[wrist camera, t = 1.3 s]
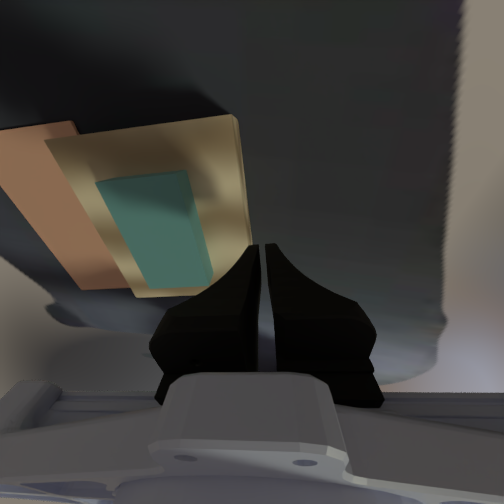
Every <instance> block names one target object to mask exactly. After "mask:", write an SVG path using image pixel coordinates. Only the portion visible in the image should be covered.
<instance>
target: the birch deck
mask: <svg viewBox="0 0 504 504" xmlns="http://www.w3.org/2000/svg"><path fill="white" fill-rule="evenodd" d="M44 142H45V143H46V145H47V147H48V148H49V150H50V152H51V153H52V155H53V157H54V159H55V160H56V162H57V164H58V165H59V167H60V169H61V170H62V172H63V174H64V176H65V177H66V179H67V181H68V182H69V184H70V186H71V187H72V189H73V191H74V193H75V194H76V196H77V198H78V199H79V201H80V203H81V204H82V206H83V208H84V210H85V211H86V213H87V215H88V216H89V218H90V220H91V221H92V223H93V225H94V227H95V228H96V230H97V232H98V233H99V235H100V237H101V238H102V240H103V242H104V244H105V245H106V247H107V249H108V250H109V252H110V254H111V255H112V257H113V259H114V261H115V262H116V264H117V266H118V267H119V269H120V271H121V272H122V274H123V276H124V278H125V279H126V281H127V283H128V284H129V286H130V288H131V289H132V291H133V293H134V295H135V296H136V298H146V297H168V296H189V295H197V294H199V293H201V292H202V291H204V290H205V289H207V288H208V287H210V286H211V285H212V284H214V283H215V282H216V281H218V280H219V279H220V278H221V277H222V276H224V275H225V274H226V273H227V272H228V271H229V270H230V268H231V267H232V266H233V265H234V264H235V263H236V262H237V260H238V259H239V258H240V257H241V255H242V254H243V252H244V251H245V249H246V248H247V247H248V245H252V236H251V228H250V219H249V210H248V202H247V193H246V185H245V176H244V168H243V159H242V151H241V142H240V134H239V125H238V120H237V119H236V118H235V117H234V116H233V115H232V114H229V115H221V116H214V117H207V118H200V119H192V120H185V121H178V122H170V123H163V124H156V125H148V126H141V127H134V128H127V129H119V130H112V131H105V132H97V133H90V134H83V135H75V136H68V137H61V138H54V139H46V140H44ZM178 170H187V174H188V178H189V182H190V185H191V189H192V193H193V197H194V201H195V204H196V208H197V212H198V216H199V219H200V223H201V227H202V231H203V234H204V238H205V242H206V246H207V250H208V253H209V257H210V261H211V265H212V268H213V272H214V274H213V276H212V279H211V282H210V285H209V286H199V287H179V288H159V289H149V287H148V285H147V283H146V281H145V279H144V277H143V275H142V273H141V271H140V269H139V267H138V265H137V263H136V262H135V260H134V258H133V256H132V254H131V252H130V250H129V248H128V246H127V244H126V242H125V240H124V238H123V237H122V235H121V233H120V231H119V229H118V227H117V225H116V223H115V221H114V219H113V217H112V215H111V213H110V211H109V210H108V208H107V206H106V204H105V202H104V200H103V198H102V196H101V194H100V192H99V190H98V188H97V186H96V185H95V182H99V181H103V180H106V179H110V178H115V177H124V176H133V175H142V174H151V173H160V172H169V171H178Z"/></svg>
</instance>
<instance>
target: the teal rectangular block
mask: <svg viewBox="0 0 504 504" xmlns="http://www.w3.org/2000/svg"><path fill="white" fill-rule="evenodd" d="M95 185H96V186H97V188H98V190H99V192H100V194H101V196H102V198H103V200H104V202H105V204H106V206H107V208H108V210H109V211H110V213H111V215H112V217H113V219H114V221H115V223H116V225H117V227H118V229H119V231H120V233H121V235H122V237H123V238H124V240H125V242H126V244H127V246H128V248H129V250H130V252H131V254H132V256H133V258H134V260H135V262H136V263H137V265H138V267H139V269H140V271H141V273H142V275H143V277H144V279H145V281H146V283H147V285H148V287H149V289H159V288H179V287H199V286H209V285H210V282H211V279H212V276H213V274H214V272H213V268H212V265H211V261H210V257H209V253H208V250H207V246H206V242H205V238H204V234H203V231H202V227H201V223H200V219H199V216H198V212H197V208H196V204H195V201H194V197H193V193H192V189H191V185H190V182H189V178H188V174H187V170H178V171H169V172H160V173H151V174H142V175H133V176H124V177H115V178H110V179H106V180H103V181H99V182H95Z"/></svg>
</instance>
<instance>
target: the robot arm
mask: <svg viewBox="0 0 504 504" xmlns="http://www.w3.org/2000/svg"><path fill="white" fill-rule="evenodd" d="M265 251H266V264H267V277H268V287H269V293H270V299H271V305H272V311H273V318H274V331H275V346H276V360H277V372H258V314H259V304H260V294H261V265H260V254H259V244H258V245H248V247H247V248H246V249H245V251H244V252H243V254H242V255H241V257H240V258H239V259H238V260H237V262H236V263H235V264H234V265H233V266H232V267H231V268H230V270H229V271H228V272H227V273H226V274H225V275H224V276H222V277H221V278H220V279H219V280H218V281H216V282H215V283H214V284H212V285H211V286H210V287H208V288H207V289H205V290H204V291H202V292H201V293H199V294H197V295H196V296H194V297H192V298H190V299H189V300H187V301H185V302H183V303H181V304H179V305H177V306H175V307H173V308H170V309H168V310H167V312H166V313H165V315H164V317H163V318H162V320H161V322H160V324H159V325H158V327H157V329H156V331H155V333H154V335H153V337H152V338H151V341H150V342H149V350H150V352H151V354H152V356H153V358H154V359H155V361H156V362H157V364H158V365H159V367H160V368H161V370H162V371H163V373H164V375H163V378H162V380H161V382H160V385H159V387H158V389H157V391H62V389H61V388H60V387H59V386H58V385H56V384H55V383H53V382H49V381H44V380H26V381H25V380H23V381H19V382H17V383H16V384H15V385H14V386H13V387H12V388H11V389H10V391H8V392H7V393H6V394H5V395H4V396H3V397H2V398H1V400H0V497H4V498H17V499H29V500H41V501H51V502H61V503H71V504H504V393H416V392H415V393H414V392H408V393H406V392H399V393H398V392H381V390H380V388H379V386H378V384H377V381H376V379H375V377H374V375H373V373H374V367H373V365H372V363H371V361H370V359H369V356H370V354H371V351H372V349H373V346H374V344H375V341H376V336H377V334H376V331H375V328H374V326H373V324H372V323H371V321H370V319H369V318H368V316H367V315H366V314H365V312H364V311H363V310H362V308H361V307H360V306H359V304H358V303H357V302H355V301H353V300H350V299H348V298H346V297H343V296H341V295H338V294H336V293H334V292H332V291H330V290H328V289H326V288H324V287H322V286H320V285H319V284H317V283H315V282H314V281H312V280H311V279H309V278H308V277H306V276H305V275H304V274H302V273H301V272H300V271H299V270H298V269H297V268H295V267H294V266H293V265H292V264H291V263H290V261H289V260H288V259H287V258H286V257H285V256H284V254H283V253H282V252H281V250H280V249H279V247H278V246H277V244H276V243H272V244H265Z"/></svg>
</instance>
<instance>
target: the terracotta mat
mask: <svg viewBox="0 0 504 504" xmlns="http://www.w3.org/2000/svg"><path fill="white" fill-rule="evenodd" d="M75 135H80V134H79V132H78V130H77V128H76V126H75V124H74V122H73V121H63V122H56V123H49V124H43V125H36V126H29V127H22V128H15V129H8V130H1V131H0V186H1V187H2V188H3V190H4V191H5V192H6V193H7V195H8V196H9V197H10V199H11V200H12V201H13V202H14V204H15V205H16V206H17V208H18V209H19V210H20V211H21V213H22V214H23V215H24V217H25V218H26V219H27V220H28V222H29V223H30V224H31V226H32V227H33V228H34V230H35V231H36V232H37V233H38V235H39V236H40V237H41V239H42V240H43V241H44V242H45V244H46V245H47V246H48V248H49V249H50V250H51V251H52V253H53V254H54V255H55V257H56V258H57V259H58V260H59V262H60V263H61V264H62V266H63V267H64V268H65V269H66V271H67V272H68V273H69V275H70V276H71V277H72V278H73V280H74V281H75V282H76V284H77V285H78V286H79V287H80V289H81V290H94V289H113V288H130V286H129V284H128V283H127V281H126V279H125V278H124V276H123V274H122V272H121V271H120V269H119V267H118V266H117V264H116V262H115V261H114V259H113V257H112V255H111V254H110V252H109V250H108V249H107V247H106V245H105V244H104V242H103V240H102V238H101V237H100V235H99V233H98V232H97V230H96V228H95V227H94V225H93V223H92V221H91V220H90V218H89V216H88V215H87V213H86V211H85V210H84V208H83V206H82V204H81V203H80V201H79V199H78V198H77V196H76V194H75V193H74V191H73V189H72V187H71V186H70V184H69V182H68V181H67V179H66V177H65V176H64V174H63V172H62V170H61V169H60V167H59V165H58V164H57V162H56V160H55V159H54V157H53V155H52V153H51V152H50V150H49V148H48V147H47V145H46V143H45V142H44V140H46V139H54V138H61V137H68V136H75Z"/></svg>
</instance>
